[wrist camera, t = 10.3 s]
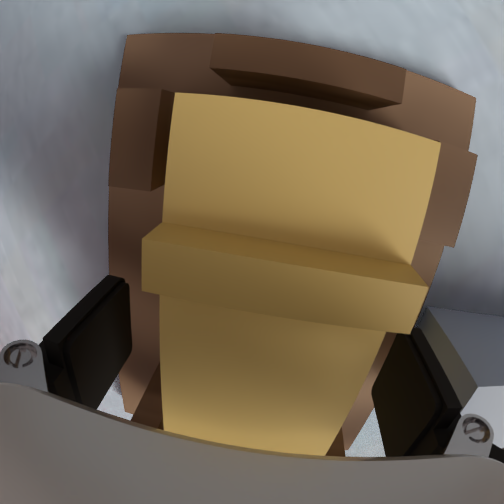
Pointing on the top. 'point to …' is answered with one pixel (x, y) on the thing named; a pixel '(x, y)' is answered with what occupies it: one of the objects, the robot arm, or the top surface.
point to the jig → (279, 91)
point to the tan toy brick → (281, 266)
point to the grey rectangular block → (471, 360)
